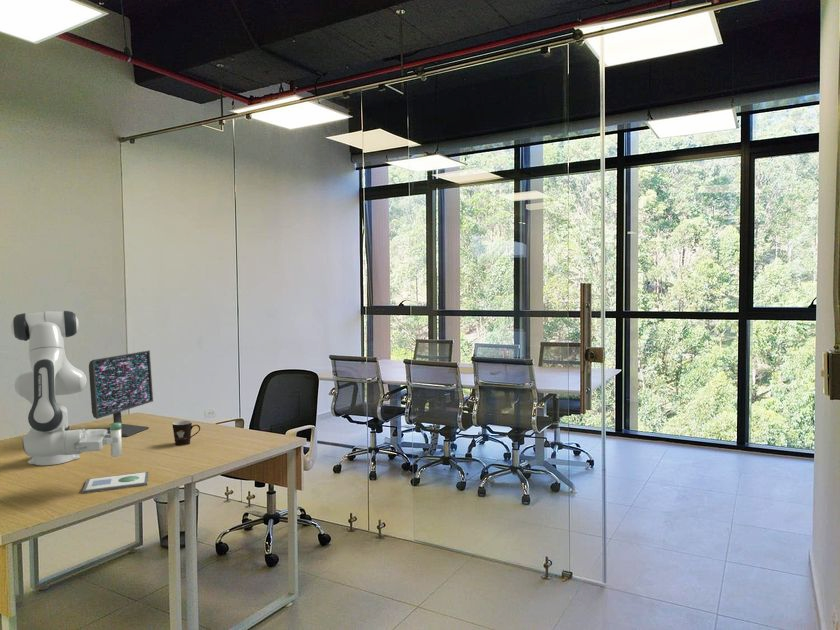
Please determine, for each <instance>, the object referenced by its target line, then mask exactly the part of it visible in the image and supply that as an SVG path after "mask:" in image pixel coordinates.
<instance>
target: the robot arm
mask: <svg viewBox="0 0 840 630" xmlns="http://www.w3.org/2000/svg"><path fill="white" fill-rule="evenodd" d="M12 319H13V320H12V322H11V325H10V326H11V327H10V328H11V333H12V334H13V335H14V338H15V339H17V340H19V341H24V342H27V341H28V354H29V355H28V356H29V363H30V367H31V371H26V372H23V373H20V374H19V375H18V376H17V377H16V378H15V381H14V385H13V386H14V390H15V392H16V393H17V395H19V396H20V397H21V398H24V399H25V400H27V401H28V402H29V403H30V404H31V408H30V411H29V413H28V417H27V421H28V424H29V426H30V429H29V430H28V432H27V433H26V434H25V435H24V436H23V438H22V447H23V451H24V453H25V455H26V456H28V457H29V458H31V459H29V460H28V461H27V464H28V465H36V466H51V465H52V466H53V465H59V464H64V463H67V462H70V461H74V460H79V459H80V458H81V456H80V455H82V453H87V452H99V451H102V449H103V448H104V446H105V445H106V446H107V445H111V443H116V442H118V437H113V438H111V436H110V434H107V430H106V429H107V428H95V429H94V428H91V429H88V428H87V429H85V428H84V427H83V428H82V427H81V428H78V429H72V430H71V428H70V426H69V411H68V408H67V407H66V406H65V405H64V404H60V403H59V402H57V399H56V396H64V395H65V396H67V395H73V394H77V393H80V392H83V390H84V389H85V388H86V386H87V381H88V380H87V379H88V378H87V376H86V374H85V373H84V372H83V370H82V369H80V368H77V367H76V366H73V364H71V362H70V361H69V360H68V358H67V355H66V351H65V349H66V348H65V340H64V339H65V338H70V337H74V336H75V335H76V334H77V332H78V330H79V326H80V321H79V319H78V317H77V315H76V313H75V312H73V311H70V310H62V311H61V310H60V311H59V310H57V311H56V310H54V311H53V310H46V311H37V312H30V313H25V312H24V313H19V314H15V316H14V317H13V318H12Z"/></svg>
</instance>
